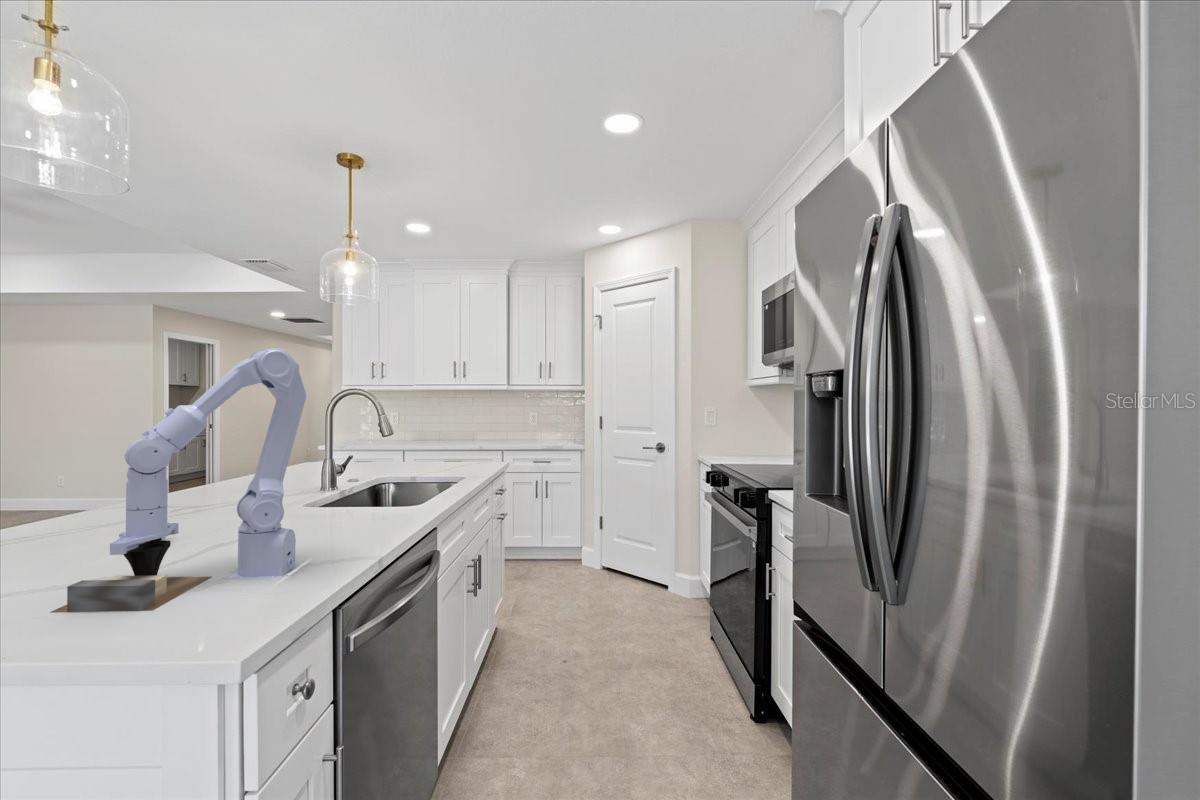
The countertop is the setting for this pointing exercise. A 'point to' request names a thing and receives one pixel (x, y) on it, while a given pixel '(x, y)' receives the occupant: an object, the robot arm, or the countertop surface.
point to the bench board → (124, 594)
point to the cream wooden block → (159, 579)
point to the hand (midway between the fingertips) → (146, 584)
